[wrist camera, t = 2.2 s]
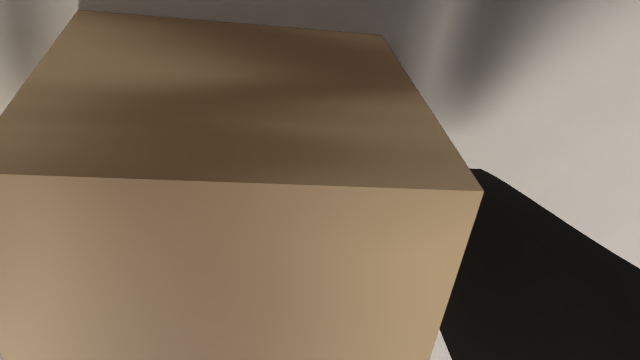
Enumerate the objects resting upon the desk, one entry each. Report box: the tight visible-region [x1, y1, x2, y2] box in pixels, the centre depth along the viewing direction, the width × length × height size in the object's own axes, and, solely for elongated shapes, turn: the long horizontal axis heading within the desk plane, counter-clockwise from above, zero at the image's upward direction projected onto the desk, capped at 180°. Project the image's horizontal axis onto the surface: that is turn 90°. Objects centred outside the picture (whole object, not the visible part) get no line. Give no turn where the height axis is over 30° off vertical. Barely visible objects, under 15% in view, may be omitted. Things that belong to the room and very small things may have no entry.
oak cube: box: [0, 10, 484, 360], centre depth 9 cm, size 5×5×5 cm
